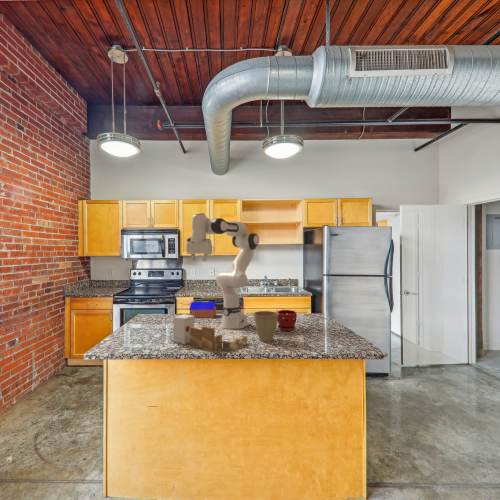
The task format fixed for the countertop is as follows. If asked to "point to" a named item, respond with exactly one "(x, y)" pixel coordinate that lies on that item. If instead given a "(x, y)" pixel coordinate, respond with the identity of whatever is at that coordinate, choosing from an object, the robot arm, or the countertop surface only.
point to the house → (203, 309)
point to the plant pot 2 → (286, 320)
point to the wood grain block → (205, 338)
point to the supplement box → (182, 328)
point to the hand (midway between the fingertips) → (199, 261)
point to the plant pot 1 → (266, 324)
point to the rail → (234, 343)
